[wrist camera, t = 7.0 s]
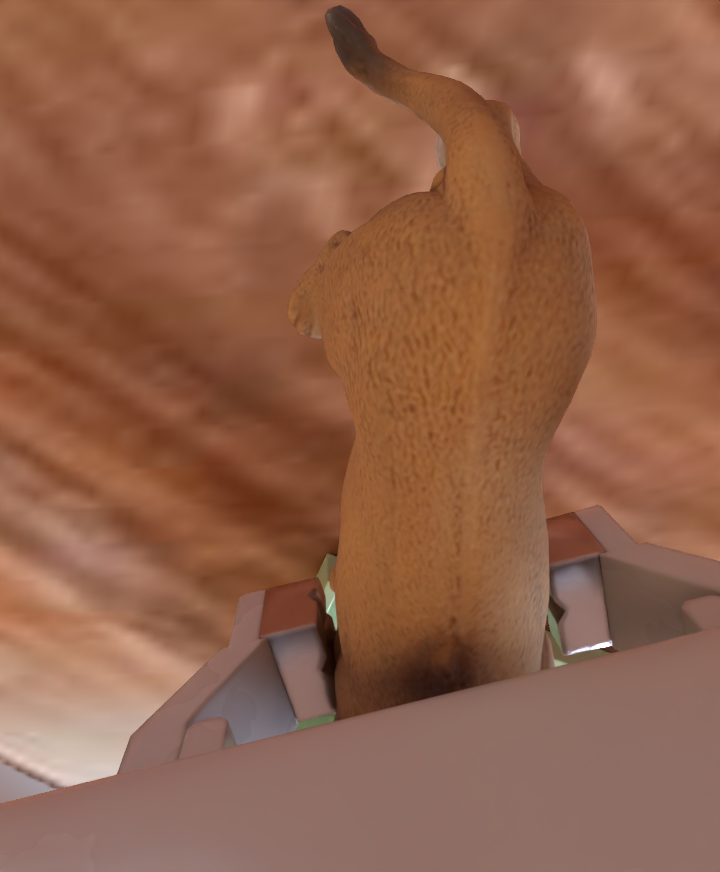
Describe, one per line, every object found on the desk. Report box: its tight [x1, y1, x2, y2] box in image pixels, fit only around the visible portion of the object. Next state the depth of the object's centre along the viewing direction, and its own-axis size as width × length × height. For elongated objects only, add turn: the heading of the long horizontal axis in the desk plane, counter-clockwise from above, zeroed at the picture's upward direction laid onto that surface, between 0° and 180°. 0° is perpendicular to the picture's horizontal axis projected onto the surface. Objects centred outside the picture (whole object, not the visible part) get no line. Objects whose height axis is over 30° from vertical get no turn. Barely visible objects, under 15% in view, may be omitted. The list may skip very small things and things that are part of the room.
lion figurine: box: [288, 5, 597, 721], centre depth 9 cm, size 15×5×9 cm, turn 13°
